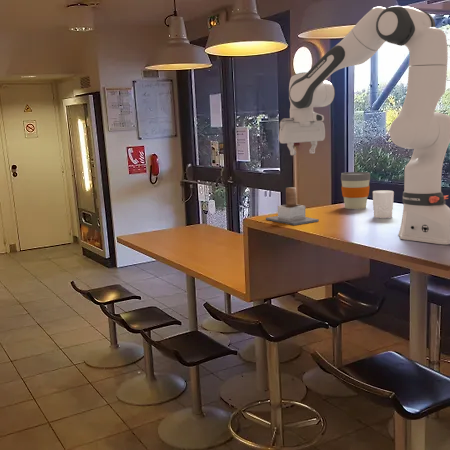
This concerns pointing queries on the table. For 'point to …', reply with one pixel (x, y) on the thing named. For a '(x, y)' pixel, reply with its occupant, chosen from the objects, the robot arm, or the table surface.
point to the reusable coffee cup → (355, 189)
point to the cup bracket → (292, 215)
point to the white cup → (383, 203)
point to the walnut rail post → (291, 197)
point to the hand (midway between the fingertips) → (302, 154)
